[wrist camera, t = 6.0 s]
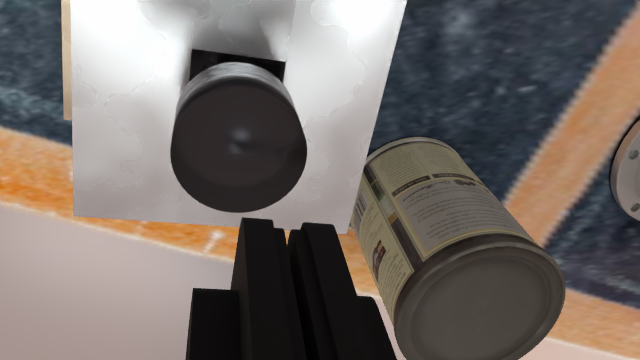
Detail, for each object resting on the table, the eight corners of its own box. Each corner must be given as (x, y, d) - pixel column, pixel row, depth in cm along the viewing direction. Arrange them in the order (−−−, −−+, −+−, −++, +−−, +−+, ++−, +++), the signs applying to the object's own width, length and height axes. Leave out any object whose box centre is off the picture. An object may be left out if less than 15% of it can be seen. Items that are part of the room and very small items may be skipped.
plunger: (300, -42, 28) (391, 48, 14) (279, 85, 31) (336, 264, 17) (162, -68, 26) (106, 4, 12) (154, 68, 29) (102, 252, 15)
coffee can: (478, 220, 46) (572, 344, 34) (363, 262, 46) (417, 401, 34) (457, 115, 41) (560, 217, 29) (328, 162, 41) (376, 284, 29)
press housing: (395, -140, 32) (576, -149, 16) (333, 139, 40) (413, 314, 24) (63, -220, 28) (-133, -341, 12) (69, 110, 36) (-43, 300, 20)
